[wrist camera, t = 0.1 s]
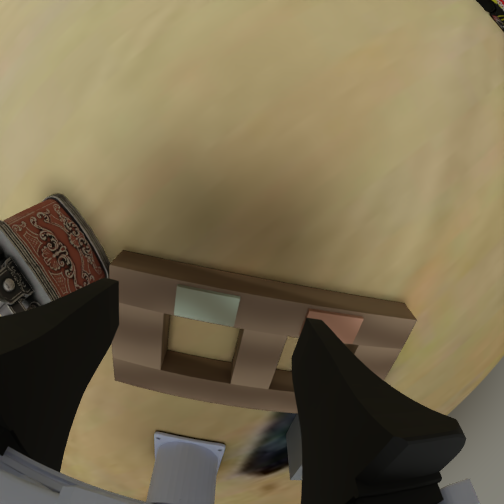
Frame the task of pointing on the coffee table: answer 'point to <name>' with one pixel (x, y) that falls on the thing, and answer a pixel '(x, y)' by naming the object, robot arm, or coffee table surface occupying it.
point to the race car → (494, 10)
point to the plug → (294, 449)
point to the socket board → (250, 336)
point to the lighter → (47, 255)
